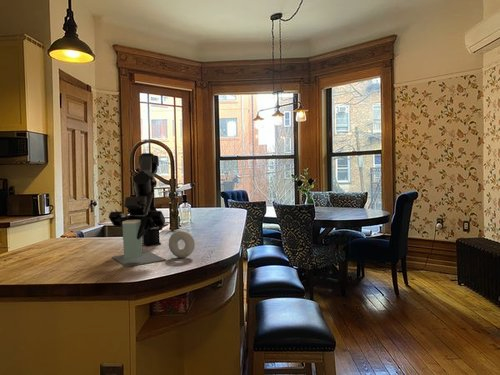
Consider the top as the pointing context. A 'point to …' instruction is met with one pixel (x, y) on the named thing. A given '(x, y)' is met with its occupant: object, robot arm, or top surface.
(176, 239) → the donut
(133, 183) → the robot arm
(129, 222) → the block
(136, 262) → the mat
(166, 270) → the top surface
